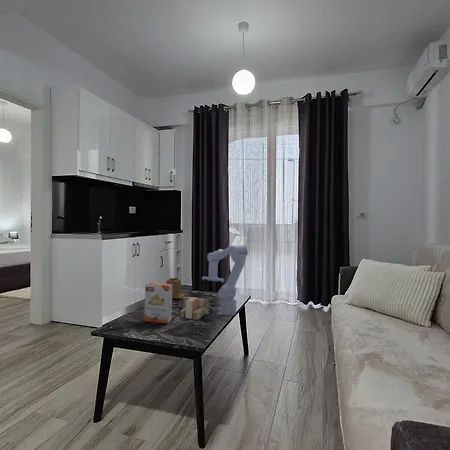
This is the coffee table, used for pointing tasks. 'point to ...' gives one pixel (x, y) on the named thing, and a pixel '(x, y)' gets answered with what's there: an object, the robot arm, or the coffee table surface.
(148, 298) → the cracker box
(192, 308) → the book
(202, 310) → the book rack
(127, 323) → the coffee table surface
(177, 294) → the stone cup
